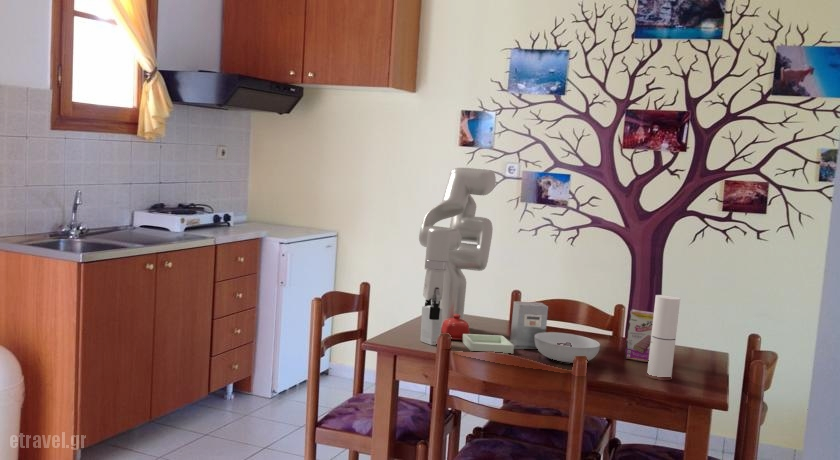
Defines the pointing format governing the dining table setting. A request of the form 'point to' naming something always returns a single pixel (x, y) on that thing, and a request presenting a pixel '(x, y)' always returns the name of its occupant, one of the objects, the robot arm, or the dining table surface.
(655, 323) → the cylindrical container
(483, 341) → the tray
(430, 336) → the skincare box
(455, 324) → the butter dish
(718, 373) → the dining table surface
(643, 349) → the candy bar box
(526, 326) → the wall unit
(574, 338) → the serving bowl
